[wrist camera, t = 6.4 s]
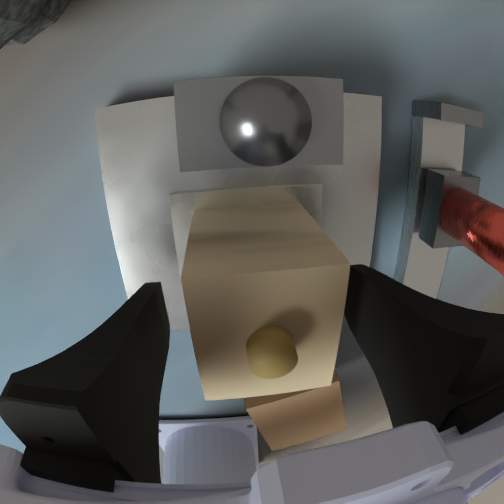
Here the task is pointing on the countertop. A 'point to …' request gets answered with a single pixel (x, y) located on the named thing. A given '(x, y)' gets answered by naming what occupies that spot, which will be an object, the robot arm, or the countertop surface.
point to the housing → (263, 300)
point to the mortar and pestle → (27, 18)
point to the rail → (422, 158)
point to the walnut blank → (298, 415)
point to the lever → (461, 216)
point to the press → (236, 166)
